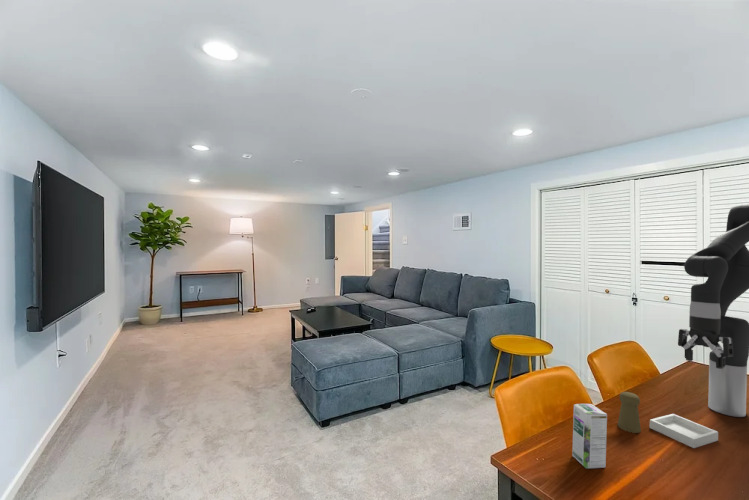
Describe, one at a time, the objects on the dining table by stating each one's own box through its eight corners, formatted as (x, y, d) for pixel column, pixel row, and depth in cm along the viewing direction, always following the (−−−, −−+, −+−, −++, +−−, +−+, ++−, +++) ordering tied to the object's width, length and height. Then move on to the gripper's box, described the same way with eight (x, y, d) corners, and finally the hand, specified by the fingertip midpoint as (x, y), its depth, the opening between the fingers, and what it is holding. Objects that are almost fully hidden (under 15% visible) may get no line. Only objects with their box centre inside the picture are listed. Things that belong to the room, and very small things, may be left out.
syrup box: (571, 455, 94) (572, 403, 94) (591, 454, 95) (592, 402, 95) (585, 469, 89) (586, 414, 88) (607, 468, 89) (608, 413, 89)
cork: (645, 434, 105) (646, 398, 105) (623, 431, 107) (623, 396, 106) (634, 423, 111) (635, 390, 111) (613, 421, 112) (614, 388, 112)
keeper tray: (672, 421, 113) (673, 413, 113) (717, 440, 102) (718, 431, 102) (649, 427, 109) (649, 419, 109) (693, 448, 98) (694, 439, 98)
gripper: (739, 319, 109) (739, 370, 108) (688, 312, 123) (687, 357, 122) (723, 319, 107) (722, 371, 106) (673, 312, 121) (672, 358, 120)
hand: (703, 364), depth 114 cm, fingers open, 8 cm apart
